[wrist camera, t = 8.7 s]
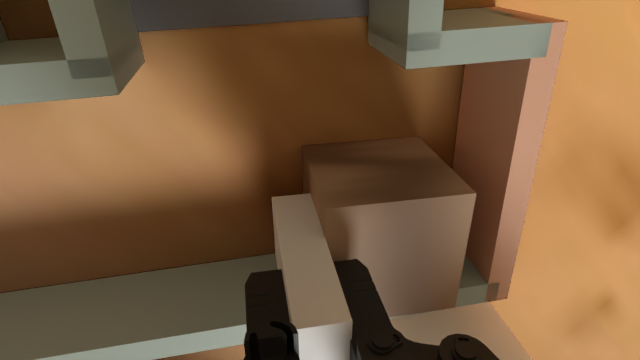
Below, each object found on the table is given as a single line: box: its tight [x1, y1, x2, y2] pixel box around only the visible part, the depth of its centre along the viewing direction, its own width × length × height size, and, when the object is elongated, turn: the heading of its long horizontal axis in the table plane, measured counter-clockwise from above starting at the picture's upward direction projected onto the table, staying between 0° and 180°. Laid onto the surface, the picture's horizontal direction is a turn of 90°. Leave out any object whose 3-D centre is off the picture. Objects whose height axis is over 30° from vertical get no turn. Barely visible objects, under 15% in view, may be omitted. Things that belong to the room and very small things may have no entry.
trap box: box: [0, 0, 568, 360], centre depth 14 cm, size 30×18×4 cm, turn 93°
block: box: [302, 136, 477, 317], centre depth 17 cm, size 5×5×5 cm
